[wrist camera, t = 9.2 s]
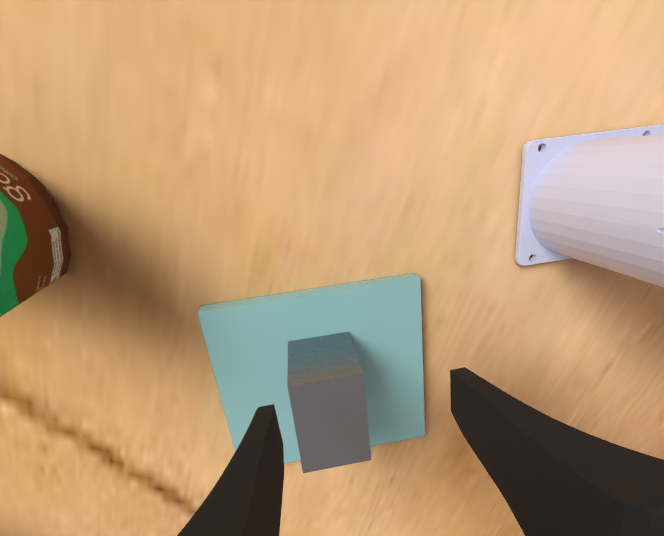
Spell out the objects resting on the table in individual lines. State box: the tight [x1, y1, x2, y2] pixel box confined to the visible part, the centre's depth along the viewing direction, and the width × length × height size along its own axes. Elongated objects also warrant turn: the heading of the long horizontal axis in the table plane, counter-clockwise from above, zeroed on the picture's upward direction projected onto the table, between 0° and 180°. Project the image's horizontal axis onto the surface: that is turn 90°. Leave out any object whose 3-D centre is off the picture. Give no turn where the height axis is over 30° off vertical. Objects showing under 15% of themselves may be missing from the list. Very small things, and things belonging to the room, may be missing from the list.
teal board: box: [197, 273, 425, 464], centre depth 23 cm, size 14×13×1 cm
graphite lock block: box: [287, 332, 371, 473], centre depth 20 cm, size 4×6×4 cm, turn 6°
